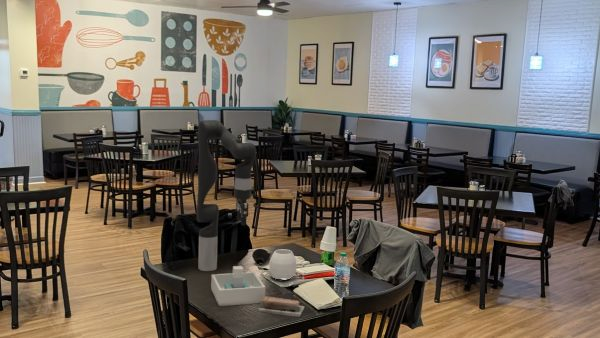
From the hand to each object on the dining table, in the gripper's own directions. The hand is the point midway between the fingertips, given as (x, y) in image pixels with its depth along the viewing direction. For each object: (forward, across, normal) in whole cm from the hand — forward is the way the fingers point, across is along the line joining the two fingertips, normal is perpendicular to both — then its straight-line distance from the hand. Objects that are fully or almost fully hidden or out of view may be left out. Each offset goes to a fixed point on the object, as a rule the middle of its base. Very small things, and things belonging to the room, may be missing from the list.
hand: (241, 222), depth 248 cm
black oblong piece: (+33, -36, +21) cm, 53 cm away
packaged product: (+31, +28, +12) cm, 44 cm away
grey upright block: (+30, +9, -3) cm, 31 cm away
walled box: (+31, +9, -3) cm, 32 cm away
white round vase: (+32, -10, +24) cm, 41 cm away
